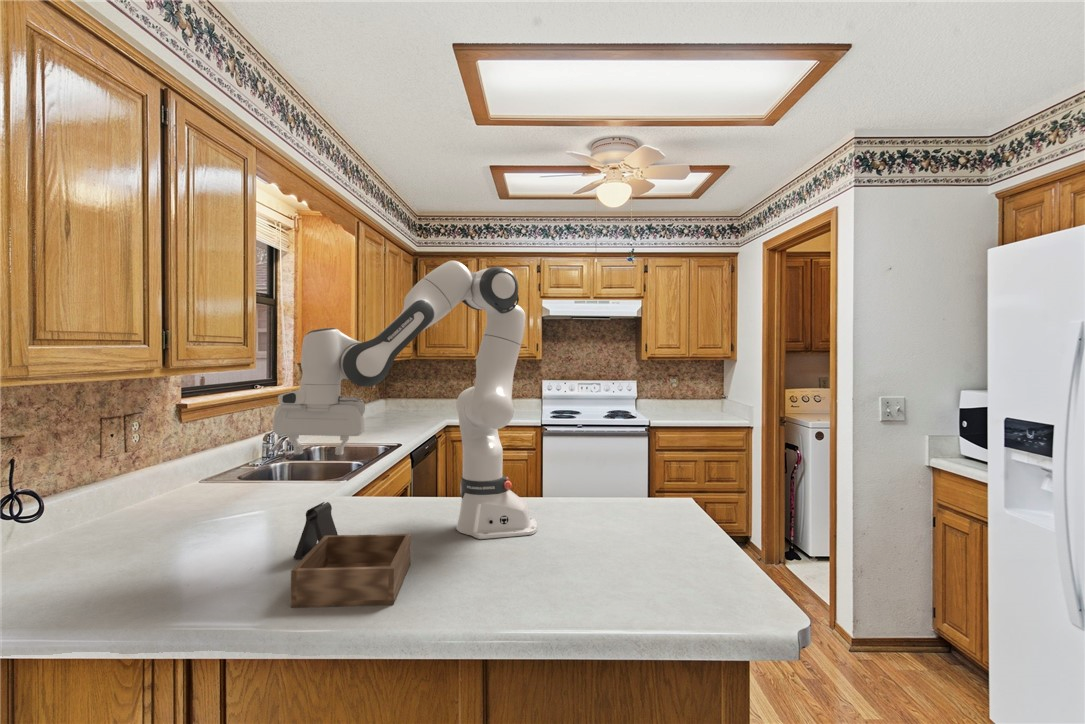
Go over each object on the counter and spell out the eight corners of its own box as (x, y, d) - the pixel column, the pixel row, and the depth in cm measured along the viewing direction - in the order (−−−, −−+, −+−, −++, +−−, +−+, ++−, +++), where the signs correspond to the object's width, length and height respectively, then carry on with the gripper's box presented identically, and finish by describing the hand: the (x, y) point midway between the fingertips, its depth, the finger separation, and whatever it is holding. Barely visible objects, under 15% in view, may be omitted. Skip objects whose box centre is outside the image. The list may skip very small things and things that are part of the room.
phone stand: (343, 552, 125) (343, 502, 125) (329, 562, 119) (329, 510, 119) (308, 549, 126) (309, 500, 126) (293, 559, 120) (293, 508, 120)
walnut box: (410, 564, 118) (410, 534, 118) (393, 604, 99) (393, 568, 99) (324, 566, 116) (324, 535, 116) (290, 607, 97) (291, 570, 97)
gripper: (368, 396, 126) (367, 452, 126) (282, 394, 125) (281, 451, 125) (361, 398, 120) (359, 457, 120) (270, 396, 119) (269, 456, 119)
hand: (319, 454), depth 123 cm, fingers open, 8 cm apart
